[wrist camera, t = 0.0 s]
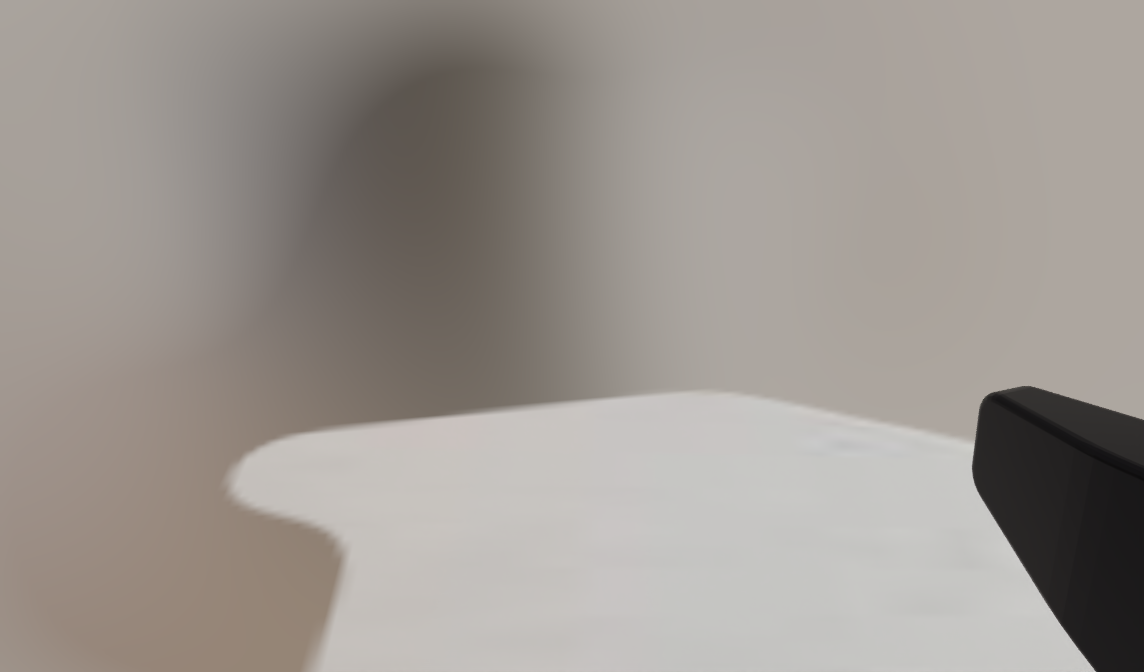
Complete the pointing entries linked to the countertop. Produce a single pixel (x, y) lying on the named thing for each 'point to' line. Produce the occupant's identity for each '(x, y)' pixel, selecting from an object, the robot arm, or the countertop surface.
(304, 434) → the countertop surface
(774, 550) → the countertop surface
